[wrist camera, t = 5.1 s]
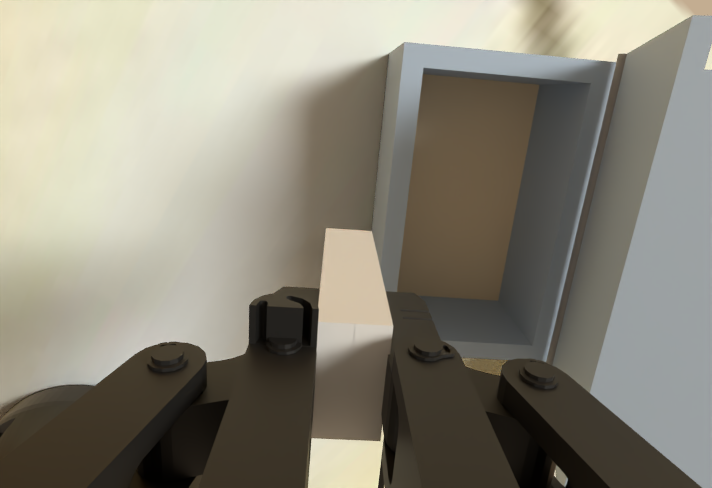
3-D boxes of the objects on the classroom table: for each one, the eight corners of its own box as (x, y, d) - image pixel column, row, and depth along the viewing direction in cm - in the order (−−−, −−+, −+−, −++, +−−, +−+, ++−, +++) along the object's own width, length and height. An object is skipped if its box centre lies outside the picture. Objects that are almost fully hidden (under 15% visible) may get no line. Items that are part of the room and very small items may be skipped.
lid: (549, 506, 18) (702, 557, 16) (679, 14, 13) (920, 22, 11) (543, 368, 27) (640, 392, 25) (617, 54, 22) (743, 61, 20)
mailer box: (364, 299, 33) (371, 352, 26) (388, 53, 28) (404, 42, 22) (505, 308, 34) (546, 362, 27) (552, 69, 29) (616, 62, 22)
